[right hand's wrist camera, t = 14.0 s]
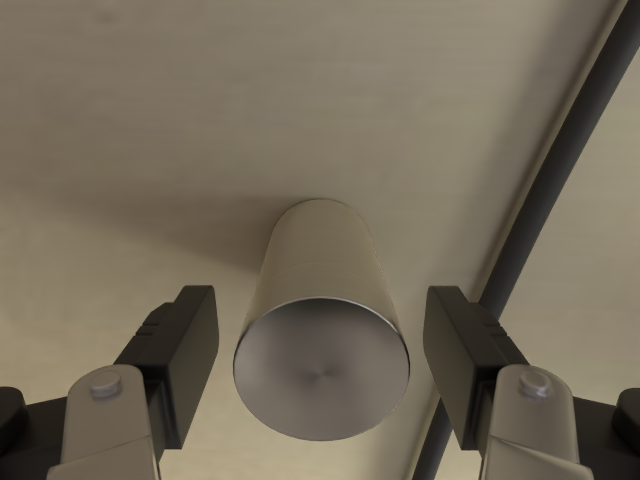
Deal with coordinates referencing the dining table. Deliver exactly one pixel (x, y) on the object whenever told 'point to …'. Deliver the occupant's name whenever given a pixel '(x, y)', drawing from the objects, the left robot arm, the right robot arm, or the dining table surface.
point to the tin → (321, 330)
